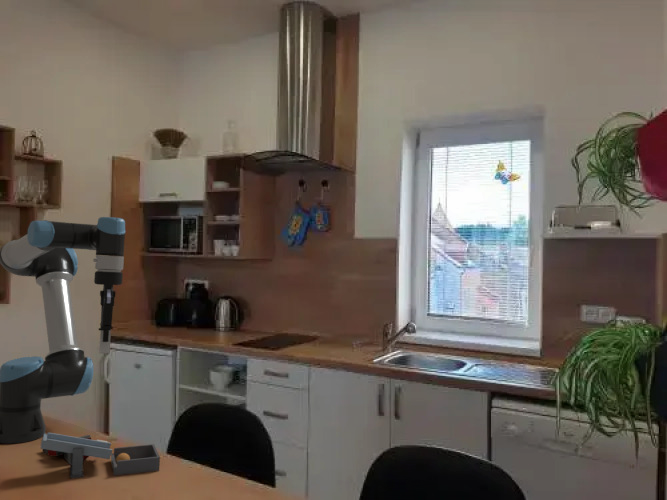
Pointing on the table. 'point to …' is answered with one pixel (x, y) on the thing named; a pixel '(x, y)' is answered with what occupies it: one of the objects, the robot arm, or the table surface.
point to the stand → (77, 463)
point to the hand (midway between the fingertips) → (104, 352)
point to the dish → (136, 459)
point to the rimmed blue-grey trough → (76, 445)
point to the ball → (122, 457)
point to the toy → (66, 455)
